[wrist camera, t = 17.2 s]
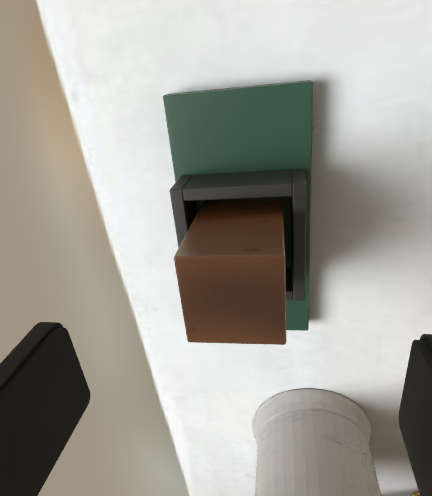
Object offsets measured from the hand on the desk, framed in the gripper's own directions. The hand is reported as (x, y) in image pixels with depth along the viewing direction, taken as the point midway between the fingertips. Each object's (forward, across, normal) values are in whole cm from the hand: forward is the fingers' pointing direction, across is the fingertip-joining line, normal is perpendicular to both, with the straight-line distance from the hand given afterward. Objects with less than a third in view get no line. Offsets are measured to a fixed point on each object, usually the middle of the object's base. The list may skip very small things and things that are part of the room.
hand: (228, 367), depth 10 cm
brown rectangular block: (+11, +1, +1) cm, 11 cm away
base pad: (+12, +1, +1) cm, 12 cm away
